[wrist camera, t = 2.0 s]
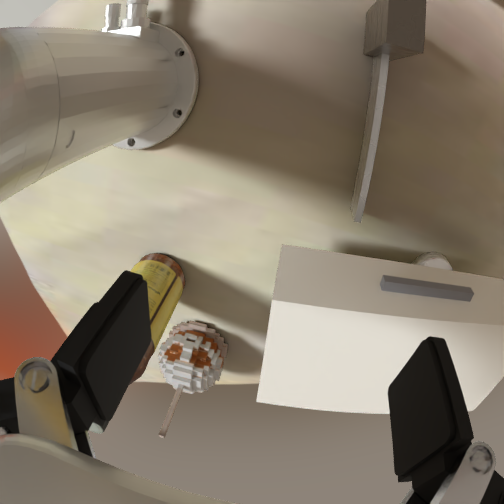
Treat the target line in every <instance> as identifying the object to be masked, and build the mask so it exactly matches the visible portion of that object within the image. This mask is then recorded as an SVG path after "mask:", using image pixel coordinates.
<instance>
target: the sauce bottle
mask: <svg viewBox="0 0 504 504" xmlns="http://www.w3.org/2000/svg"><path fill="white" fill-rule="evenodd" d="M130 272H134V273H137V274H141V275H142V276H143V280H146V281H147V286H148V301H149V313H150V325H151V335H152V337H151V342H150V345H149V347H148V349H147V351H146V353H145V355H144V357H143V358H142V360H141V362H140V364H139V366H138V368H137V370H136V372H135V374H134V376H133V378H132V380H131V382H130V383H129V384H131V383H133V382H134V381H135V380H137V379H138V378H140V377H141V376H142V374H143V373H144V371H145V369H146V366H147V364H148V361H149V360H150V358H151V356H152V355H153V353H154V352H155V349H156V347H157V345H158V343H159V341H160V339H161V337H162V335H163V332H164V330H165V328H166V326H167V324H168V322H169V320H170V318H171V316H172V314H173V311H174V309H175V307H176V305H177V303H178V301H179V299H180V297H181V295H182V291H183V289H184V286H185V277H184V274H183V271H182V270H181V267H180V266H179V265H178V264H177V263H176V262H175V261H174V260H173V259H171V258H169V257H168V256H166V255H163V254H158V253H154V254H149V255H146V256H144V257H143V258H142V259H141V260H140V261H139V263H137V264H136V265H135V266H134V267H133V269H132V270H131V271H130ZM108 423H109V421H105V423H104V425H103V427H102V426H100V425H97V424H95V423H92V425H91V427H90V429H89V430H90V431H92V432H95V433H103V432H104V430H105V429H106V427H107V425H108Z"/></svg>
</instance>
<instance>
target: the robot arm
mask: <svg viewBox="0 0 504 504" xmlns="http://www.w3.org/2000/svg"><path fill="white" fill-rule="evenodd" d="M148 2H149V0H127V1H126V7H127V11H126V19H124V20H122V21H121V26H120V27H118V25H119V17H120V10H121V4H109V5H106V10H105V28H103V29H101V31H97V30H87V29H74V28H55V27H9V28H0V203H1V202H3V201H5V200H6V199H8V198H9V197H11V196H12V195H14V194H16V193H17V192H19V191H21V190H23V189H24V188H26V187H28V186H30V185H31V184H33V183H35V182H37V181H39V180H40V179H42V178H44V177H46V176H48V175H50V174H52V173H54V172H55V171H57V170H59V169H61V168H63V167H65V166H67V165H69V164H71V163H73V162H75V161H78V160H80V159H82V158H84V157H86V156H88V155H90V154H93V153H95V152H97V151H99V150H101V149H104V148H106V147H108V146H111V145H113V146H115V147H118V148H121V149H127V150H140V149H144V148H149V147H152V146H154V145H156V144H159V143H161V142H162V141H164V140H166V139H167V138H169V137H170V136H172V135H173V134H174V133H175V132H176V131H177V130H179V128H180V127H181V126H182V125H183V123H184V122H185V121H186V120H187V118H188V116H189V114H190V112H191V110H192V109H193V106H194V103H195V100H196V97H197V91H198V84H199V79H198V67H197V63H196V59H195V56H194V54H193V52H192V50H191V48H190V46H189V45H188V44H187V42H186V41H185V40H184V39H183V37H182V36H180V35H179V34H178V33H177V32H175V31H174V30H172V29H170V28H168V27H166V26H164V25H160V24H157V23H153V22H150V18H146V14H147V6H148ZM183 51H184V52H185V53H184V55H183V56H182V55H181V53H182V52H183ZM179 110H181V111H182V115H180V114H179ZM134 140H135V142H134ZM151 337H152V335H151V325H150V313H149V301H148V286H147V281H146V280H143V276H142V275H141V274H137V273H134V272H130V271H127V270H126V271H124V272H123V273H122V274H121V275H120V276H119V278H118V279H117V280H116V281H115V283H114V284H113V285H112V286H111V288H110V289H109V290H108V291H107V292H106V294H105V295H104V296H103V298H102V299H101V300H100V301H99V302H97V303H94V304H93V305H92V306H91V308H90V309H89V310H88V311H87V313H86V314H85V315H84V316H83V318H82V319H81V320H80V322H79V323H78V324H77V326H76V327H75V328H74V330H73V331H72V332H71V334H70V335H69V336H68V338H67V339H66V340H65V342H64V343H63V344H62V346H61V347H60V348H59V350H58V351H57V353H56V354H55V356H54V357H53V358H52V360H51V361H48V360H47V359H44V358H41V357H33V358H31V359H27V360H26V361H24V362H23V363H22V364H21V365H20V366H19V367H18V368H17V371H16V373H15V377H13V378H9V379H4V380H0V504H238V503H233V502H228V501H223V500H219V499H214V498H210V497H206V496H202V495H198V494H194V493H190V492H186V491H183V490H180V489H176V488H173V487H169V486H166V485H163V484H160V483H157V482H154V481H151V480H148V479H146V478H143V477H140V476H137V475H135V474H132V473H129V472H127V471H124V470H121V469H119V468H116V467H114V466H111V465H109V464H107V463H104V462H102V461H100V460H97V459H96V456H95V453H94V450H93V447H92V444H91V440H90V437H89V434H88V430H89V429H90V427H91V425H92V423H95V424H97V425H100V426H102V427H103V425H104V423H105V421H110V420H111V419H112V417H113V415H114V413H115V411H116V409H117V407H118V405H119V403H120V401H121V399H122V397H123V395H124V393H125V391H126V389H127V387H128V385H129V383H130V382H131V380H132V378H133V376H134V374H135V372H136V370H137V368H138V366H139V364H140V362H141V360H142V358H143V357H144V355H145V353H146V351H147V349H148V347H149V345H150V342H151ZM388 402H389V410H390V419H391V429H392V439H393V440H392V441H393V454H394V469H395V474H396V475H398V482H409V481H412V488H411V489H410V491H409V492H408V493H407V495H406V496H405V498H404V499H403V500H402V502H401V503H400V504H504V478H503V477H501V476H500V475H499V474H498V473H497V472H496V471H495V470H494V469H495V465H496V458H495V454H494V452H493V450H492V448H491V447H490V446H489V445H488V444H486V443H484V442H480V441H478V442H475V443H473V444H472V443H471V440H472V439H473V438H474V437H473V432H472V427H471V423H470V419H469V415H468V411H467V407H466V404H465V400H464V396H463V393H462V389H461V386H460V383H459V379H458V376H457V373H456V370H455V367H454V364H453V361H452V358H451V355H450V352H449V349H448V346H447V343H446V341H445V339H443V338H439V337H432V336H429V337H427V339H426V340H423V341H422V342H421V343H420V345H419V346H418V348H417V349H416V350H415V352H414V353H413V355H412V356H411V357H410V359H409V360H408V362H407V363H406V364H405V366H404V367H403V368H402V370H401V371H400V372H399V374H398V375H397V376H396V378H395V379H394V380H393V382H392V383H391V384H390V386H389V388H388Z"/></svg>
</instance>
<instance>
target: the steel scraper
mask: <svg viewBox="0 0 504 504" xmlns="http://www.w3.org/2000/svg"><path fill="white" fill-rule="evenodd" d="M425 17H426V0H377V1H376V2H375V3H374V5H373V6H372V7H371V8H370V9H369V10H368V12H367V14H366V29H365V42H364V53H363V54H364V55H369V56H373V57H374V60H373V69H372V78H371V87H370V95H369V102H368V110H367V117H366V123H365V130H364V136H363V142H362V148H361V154H360V160H359V166H358V171H357V176H356V182H355V187H354V192H353V197H352V202H351V206H350V209H351V213H352V216H353V220H354V222H359V223H361V220H362V216H363V212H364V208H365V203H366V199H367V194H368V189H369V185H370V180H371V175H372V170H373V165H374V160H375V154H376V149H377V143H378V137H379V131H380V125H381V119H382V112H383V105H384V98H385V91H386V83H387V74H388V65H389V60H390V61H392V60H396V59H400V58H404V57H408V56H412V55H417V54H422V53H423V50H424V36H425Z"/></svg>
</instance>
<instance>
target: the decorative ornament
mask: <svg viewBox="0 0 504 504" xmlns="http://www.w3.org/2000/svg"><path fill="white" fill-rule="evenodd" d="M215 332H216V330H215V329H211V328H207V324H202V323H198V322H194V321H189V323H185V322H181V324H177V326H174V327H173V331H170V333H169V338H167V340H166V342H164V343H162V345H161V347H160V349H159V350H160V352H159V354H158V357H159V365H160V370H161V373H162V374H163V377H164V378H166V382H167V383H169V384H171V385H173V388H174V389H176V393H175V395H174V398H173V400H172V403H171V405H170V408H169V410H168V413H167V415H166V418H165V420H164V423H163V425H162V428H161V430H160V433H159V437H162V438H164V437H165V435H166V432H167V430H168V427H169V424H170V422H171V419H172V417H173V414H174V411H175V409H176V406H177V404H178V401H179V399H180V396H181V393H182V391H183V392H186V393H190V394H193V393H194V392H195V391H197V392H203V391H204V390H208V388H209V386H211V387H212V386H213V384H215V381H216V380H217V381H219V379H220V376H221V372H222V369H223V360H224V358H226V356H227V347H228V344H224V337H220V334H219V333H215Z"/></svg>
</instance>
